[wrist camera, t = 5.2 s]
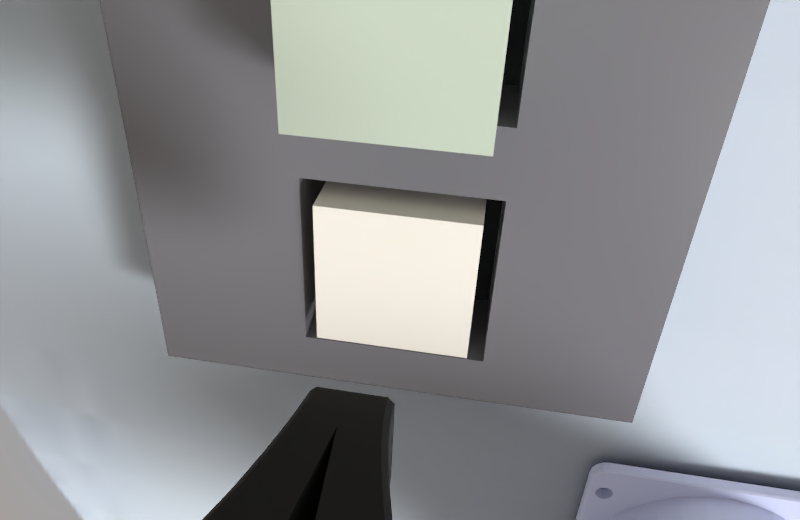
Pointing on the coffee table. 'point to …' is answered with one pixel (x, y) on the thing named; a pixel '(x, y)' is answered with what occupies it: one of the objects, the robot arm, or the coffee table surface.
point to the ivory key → (396, 267)
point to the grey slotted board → (444, 174)
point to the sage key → (391, 71)
